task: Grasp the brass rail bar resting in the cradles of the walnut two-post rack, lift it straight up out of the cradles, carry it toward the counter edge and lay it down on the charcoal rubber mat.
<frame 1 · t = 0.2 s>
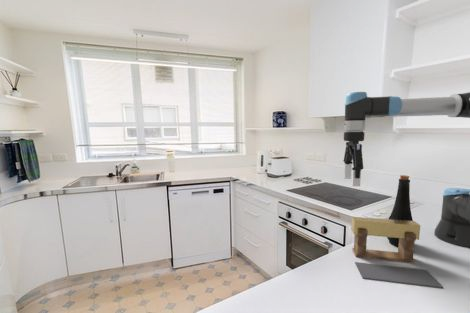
hand: (351, 182, 96), 27 cm above the worktop, fingers open, 13 cm apart
rail: (383, 234, 88), point 9 cm above the worktop, touching rack
mat: (395, 274, 78), on the worktop
bottle: (398, 244, 99), on the worktop
rack: (381, 256, 89), on the worktop
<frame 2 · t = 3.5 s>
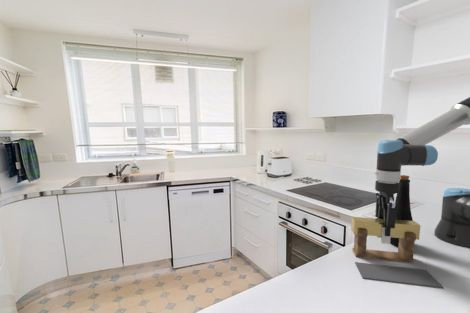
hand: (383, 239, 89), 7 cm above the worktop, fingers closed on rail, 4 cm apart
rail: (383, 234, 88), point 9 cm above the worktop, touching gripper, rack
everything else where it was.
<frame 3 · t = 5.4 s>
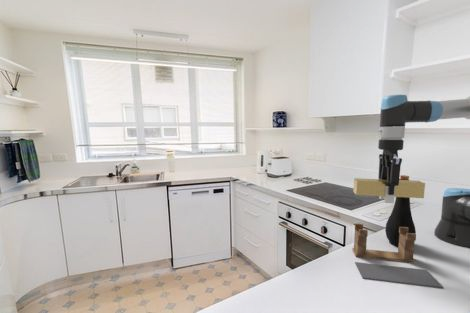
hand: (386, 200, 86), 23 cm above the worktop, fingers closed on rail, 4 cm apart
rail: (386, 194, 86), point 25 cm above the worktop, touching gripper
everything else where it was.
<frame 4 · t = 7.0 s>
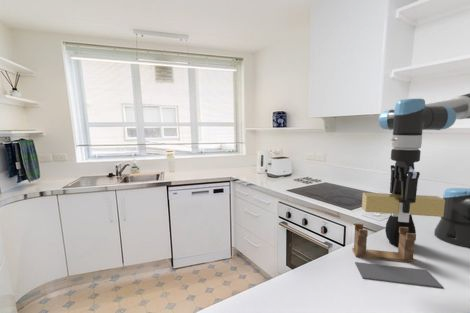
hand: (399, 218, 76), 20 cm above the worktop, fingers closed on rail, 4 cm apart
rail: (400, 212, 76), point 22 cm above the worktop, touching gripper
everything else where it was.
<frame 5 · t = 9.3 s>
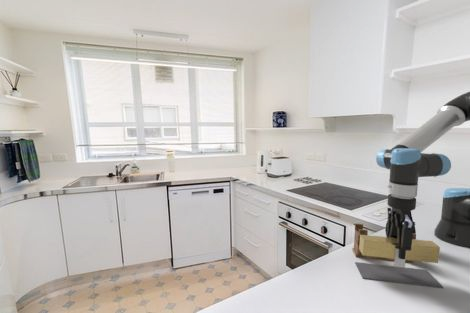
hand: (396, 262, 78), 5 cm above the worktop, fingers closed on rail, 4 cm apart
rail: (396, 255, 77), point 7 cm above the worktop, touching gripper
everything else where it was.
when the fingers open (1 cm above the worktop, at t = 10.9 s): rail drops 3 cm, resting on mat.
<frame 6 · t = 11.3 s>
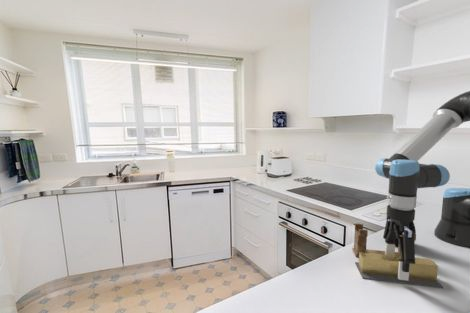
hand: (395, 269, 78), 2 cm above the worktop, fingers open, 9 cm apart
rail: (395, 273, 78), resting on mat
everything else where it was.
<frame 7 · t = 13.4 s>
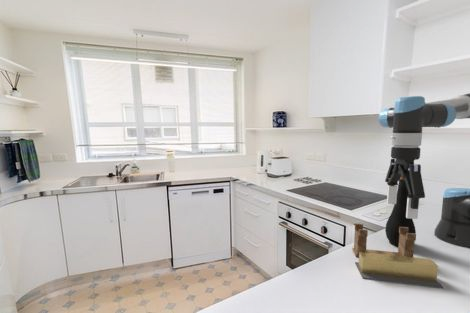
hand: (400, 210, 76), 23 cm above the worktop, fingers open, 13 cm apart
nothing on the worktop moved.
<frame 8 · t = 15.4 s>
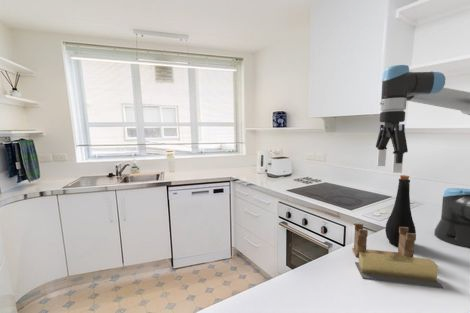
hand: (388, 169, 85), 35 cm above the worktop, fingers open, 13 cm apart
nothing on the worktop moved.
at the end: rail inside the target area on the mat (0.0 cm from its centre), point 0.4 cm above the mat's base; rail touching mat; the gripper is holding nothing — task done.
